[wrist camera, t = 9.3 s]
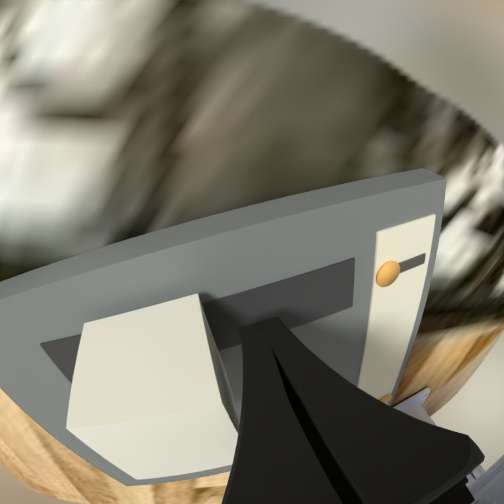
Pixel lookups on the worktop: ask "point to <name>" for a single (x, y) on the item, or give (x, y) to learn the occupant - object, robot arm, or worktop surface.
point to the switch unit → (241, 291)
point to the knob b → (154, 392)
